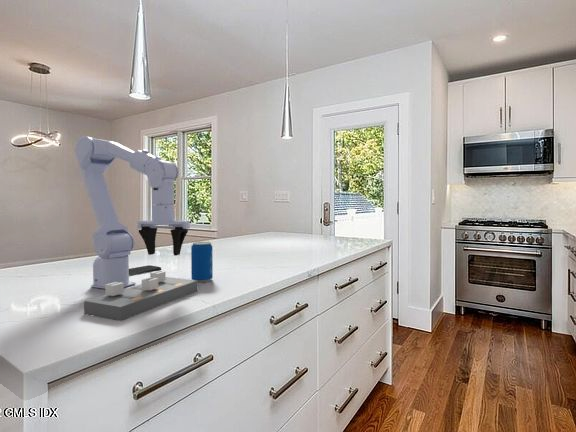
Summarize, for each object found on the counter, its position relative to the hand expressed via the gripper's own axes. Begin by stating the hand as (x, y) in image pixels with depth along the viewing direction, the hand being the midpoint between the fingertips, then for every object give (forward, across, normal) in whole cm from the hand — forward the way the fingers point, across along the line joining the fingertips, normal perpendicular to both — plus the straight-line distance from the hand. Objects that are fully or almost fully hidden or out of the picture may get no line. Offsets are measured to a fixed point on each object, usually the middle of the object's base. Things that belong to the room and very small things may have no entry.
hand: (164, 254), depth 95 cm
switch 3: (+7, -2, -1) cm, 7 cm away
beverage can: (+11, +4, +16) cm, 19 cm away
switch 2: (+7, +1, -8) cm, 11 cm away
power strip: (+10, +1, -6) cm, 12 cm away
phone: (+11, -24, +23) cm, 35 cm away
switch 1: (+7, -4, -15) cm, 17 cm away
